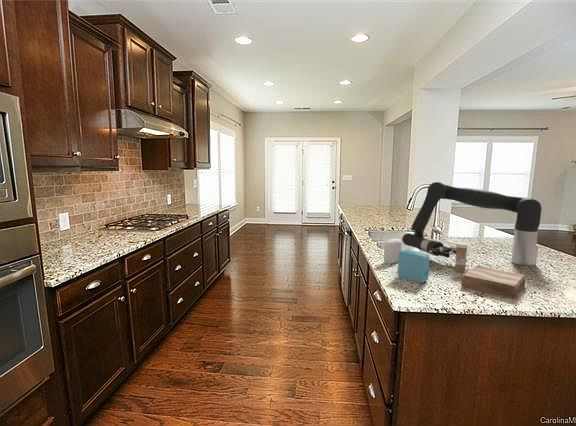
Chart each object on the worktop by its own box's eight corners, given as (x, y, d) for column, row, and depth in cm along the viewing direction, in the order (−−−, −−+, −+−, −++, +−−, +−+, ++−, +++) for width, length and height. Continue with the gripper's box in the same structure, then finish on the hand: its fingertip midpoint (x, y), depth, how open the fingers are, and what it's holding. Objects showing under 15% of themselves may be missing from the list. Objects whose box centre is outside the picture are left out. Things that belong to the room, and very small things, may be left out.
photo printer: (395, 259, 165) (396, 236, 163) (402, 261, 161) (403, 238, 160) (382, 262, 159) (383, 239, 157) (389, 264, 156) (390, 241, 154)
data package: (428, 281, 132) (430, 254, 131) (423, 284, 130) (424, 256, 128) (402, 274, 142) (403, 249, 140) (397, 276, 139) (398, 250, 137)
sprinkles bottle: (453, 271, 146) (455, 243, 144) (455, 268, 149) (457, 241, 147) (464, 273, 143) (466, 244, 141) (466, 270, 146) (468, 242, 144)
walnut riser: (475, 275, 139) (476, 265, 138) (524, 286, 126) (525, 275, 125) (461, 286, 127) (462, 274, 126) (514, 299, 114) (515, 286, 113)
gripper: (421, 241, 161) (444, 248, 145) (443, 239, 164) (468, 246, 149) (420, 255, 162) (443, 263, 146) (442, 252, 166) (467, 261, 150)
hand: (456, 254), depth 148 cm, fingers open, 8 cm apart
